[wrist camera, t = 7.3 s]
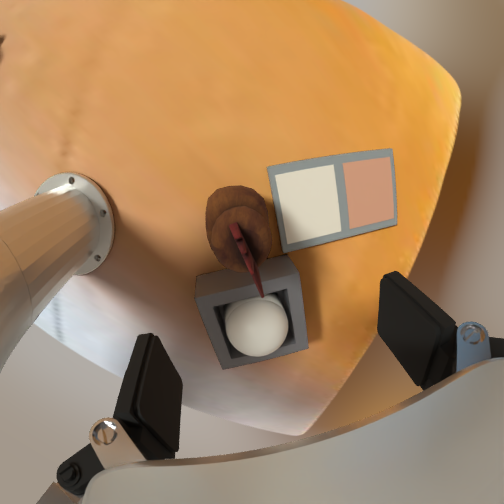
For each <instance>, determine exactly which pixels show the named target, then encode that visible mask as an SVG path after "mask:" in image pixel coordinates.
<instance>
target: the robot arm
mask: <svg viewBox="0 0 504 504" xmlns="http://www.w3.org/2000/svg"><path fill="white" fill-rule="evenodd" d="M74 179H75V181H74ZM104 210H105V211H106V213H105V212H104ZM114 229H115V226H114V217H113V213H112V209H111V206H110V204H109V202H108V199H107V197H106V196H105V194H104V193H103V191H102V190H101V188H100V187H99V186H98V185H97V184H96V183H95V182H94V181H92V180H91V179H89V178H88V177H86V176H84V175H82V174H79V173H74V172H65V173H60V174H56V175H54V176H52V177H50V178H48V179H47V180H46V181H45V182H43V183H42V184H41V186H40V187H39V188H38V190H37V191H36V193H35V195H34V197H32V198H29V199H27V200H24V201H22V202H20V203H17V204H15V205H13V206H10V207H8V208H6V209H4V210H1V211H0V372H1V370H2V368H3V367H4V365H5V363H6V361H7V359H8V358H9V356H10V354H11V353H12V351H13V350H14V348H15V347H16V345H17V344H18V342H19V341H20V339H21V338H22V337H23V335H24V334H25V333H26V331H27V330H28V329H29V327H30V326H31V325H32V324H33V323H34V321H35V320H36V319H37V317H38V316H39V315H40V313H41V312H42V311H43V310H44V309H45V307H46V306H47V305H48V304H49V302H50V301H51V300H52V299H53V298H54V296H55V295H56V294H57V293H58V292H59V291H60V289H61V288H62V287H63V286H64V285H65V284H66V283H67V281H68V280H69V279H70V278H71V277H72V276H73V275H82V274H87V273H89V272H91V271H93V270H95V269H96V268H97V267H99V266H100V264H101V263H102V262H103V261H104V260H105V258H106V257H107V256H108V254H109V252H110V249H111V247H112V244H113V239H114ZM99 255H100V256H99ZM455 324H456V322H455V321H454V320H453V319H452V318H451V317H450V316H449V315H448V314H447V313H445V312H444V311H443V310H442V309H441V308H440V307H439V306H438V305H436V304H435V303H434V302H433V301H432V300H431V299H430V298H428V297H427V296H426V295H425V294H424V293H422V292H421V291H420V290H419V289H418V288H417V287H416V286H414V285H413V284H412V283H411V282H410V281H408V280H407V279H406V278H405V277H404V276H402V275H401V274H400V273H399V272H397V271H394V272H391V273H388V274H385V275H384V276H383V279H381V281H380V297H379V312H378V325H377V330H378V334H379V335H380V337H381V338H382V339H383V341H384V342H385V343H386V345H387V346H388V347H389V349H390V350H391V351H392V352H393V354H394V355H395V357H396V358H397V360H398V361H399V362H400V364H401V365H402V366H403V368H404V369H405V370H406V372H407V373H408V375H409V376H410V377H411V379H412V380H413V382H414V383H415V384H416V385H417V386H421V388H422V389H423V391H422V392H420V393H419V394H417V395H415V396H413V397H411V398H409V399H407V400H405V401H403V402H401V403H399V404H397V405H395V406H392V407H390V408H388V409H386V410H383V411H381V412H379V413H376V414H374V415H372V416H370V417H367V418H364V419H362V420H359V421H357V422H354V423H351V424H349V425H346V426H343V427H340V428H337V429H335V430H331V431H328V432H325V433H322V434H319V435H315V436H312V437H308V438H305V439H301V440H298V441H294V442H290V443H285V444H281V445H277V446H272V447H267V448H263V449H257V450H252V451H247V452H240V453H233V454H226V455H217V456H208V457H198V458H184V459H175V452H178V450H179V435H180V416H181V402H182V389H183V384H182V380H181V377H180V376H179V374H178V372H177V370H176V369H175V367H174V365H173V363H172V362H171V360H170V358H169V356H168V354H167V352H166V350H165V349H164V347H163V345H162V343H161V341H160V339H159V337H158V336H154V334H153V333H147V334H141V335H138V337H137V340H136V343H135V346H134V349H133V352H132V355H131V358H130V362H129V365H128V368H127V370H126V372H125V375H124V379H123V382H122V386H121V389H120V393H119V396H118V400H117V404H116V407H115V411H114V415H113V418H102V419H100V420H98V421H97V422H96V423H95V424H94V425H93V426H92V428H91V429H90V432H89V440H90V444H88V445H87V446H86V447H84V448H83V449H81V450H80V451H79V452H77V453H76V454H74V455H73V456H72V457H70V458H69V459H67V460H66V461H65V462H63V463H62V464H61V465H60V466H59V468H58V470H57V480H58V482H57V483H55V482H53V483H52V484H51V486H50V487H49V488H48V489H47V491H46V492H45V493H44V494H43V496H42V497H41V498H40V500H39V501H38V502H37V503H36V504H504V339H502V338H493V337H489V336H488V332H487V330H486V329H485V327H484V326H482V325H481V324H479V323H477V322H465V323H463V324H461V325H460V326H459V327H457V326H456V325H455ZM433 385H434V386H433ZM431 386H432V387H431Z"/></svg>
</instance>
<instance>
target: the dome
mask: <svg viewBox="0 0 504 504" xmlns="http://www.w3.org/2000/svg"><path fill="white" fill-rule="evenodd" d="M224 314H225V326H226V333H227V336H228V339H229V341H230V342H231V344H232V345H233V346H234V347H235V348H236V349H237V350H238V351H240V352H241V353H243V354H246V355H249V356H255V357H259V356H265V355H268V354H270V353H272V352H274V351H275V350H277V349H278V348H279V347H280V346H281V345H282V343H283V342H284V340H285V338H286V336H287V333H288V319H287V315H286V313H285V310H284V308H283V306H282V303H281V301H280V299H279V296H278V295H277V293H276V292H272V293H268V294H264V298H261V296H256V297H252V298H248V299H244V300H240V301H236V302H232V303H227V304H225V306H224Z"/></svg>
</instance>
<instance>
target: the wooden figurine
mask: <svg viewBox="0 0 504 504" xmlns="http://www.w3.org/2000/svg"><path fill="white" fill-rule="evenodd" d="M206 231H207V238H208V241H209V243H210V246H211V249H212V250H213V251H214V254H215V256H216V257H217V259H218V261H219V262H220V263H221V264H223V265H224V266H225V267H226V268H228V269H229V270H232V271H235V272H238V273H244V272H250V274H251V276H252V278H253V281H254V283H255V285H256V287H257V289H258V291H259V293H260V296H261V298H264V292H263V287H262V282H261V278H260V273H259V268H258V267H259V266H260V265H261V264H262V263H263V262H264V261H265V260H266V258H267V257H268V255H269V253H270V249H271V245H272V236H271V230H270V228H269V222H268V212H267V208H266V205H265V202H264V199H263V198H262V197H261V196H260V195H259V194H258V193H257V192H256V191H255V190H254V189H251V188H248V187H244V186H227V187H224V188H220V189H217V190H216V191H215V192H214V193H213V194H212V195H211V196H210V197H209V198H208V201H207V207H206Z"/></svg>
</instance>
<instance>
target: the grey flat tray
mask: <svg viewBox="0 0 504 504" xmlns="http://www.w3.org/2000/svg"><path fill="white" fill-rule="evenodd" d="M267 171H268V176H269V181H270V187H271V192H272V197H273V202H274V207H275V213H276V218H277V223H278V229H279V234H280V240H281V246H282V251H283V253H286V252H290V251H295V250H299V249H303V248H307V247H310V246H314V245H318V244H322V243H326V242H330V241H334V240H338V239H342V238H346V237H350V236H354V235H358V234H362V233H366V232H370V231H373V230H377V229H381V228H385V227H389V226H393V225H397V200H396V183H395V170H394V160H393V151H392V149H390V148H389V149H379V150H370V151H361V152H353V153H346V154H338V155H331V156H325V157H318V158H312V159H306V160H300V161H294V162H289V163H284V164H278V165H273V166H268V167H267Z"/></svg>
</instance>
